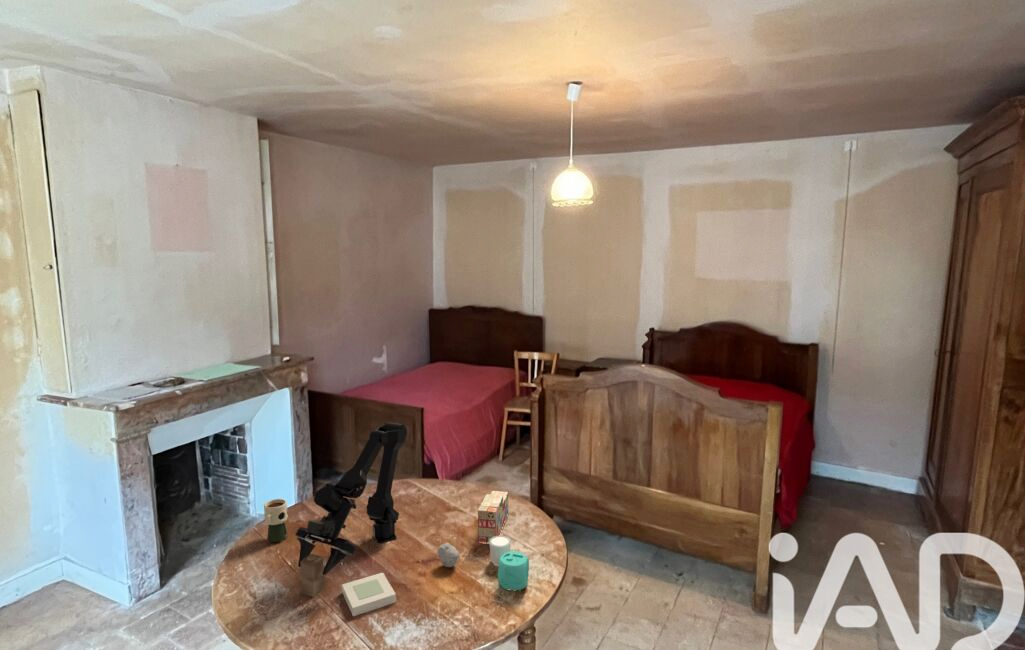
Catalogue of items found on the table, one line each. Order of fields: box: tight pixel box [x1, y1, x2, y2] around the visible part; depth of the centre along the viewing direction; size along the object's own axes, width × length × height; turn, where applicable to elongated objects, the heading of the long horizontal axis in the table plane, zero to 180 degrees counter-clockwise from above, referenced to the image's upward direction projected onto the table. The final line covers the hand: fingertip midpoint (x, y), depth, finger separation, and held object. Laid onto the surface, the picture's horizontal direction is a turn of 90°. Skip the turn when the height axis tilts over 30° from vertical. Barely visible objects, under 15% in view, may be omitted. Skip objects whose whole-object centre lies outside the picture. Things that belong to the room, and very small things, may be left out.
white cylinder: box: [488, 535, 512, 565], centre depth 175 cm, size 7×7×7 cm
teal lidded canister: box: [497, 550, 530, 591], centre depth 164 cm, size 8×8×8 cm
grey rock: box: [437, 542, 460, 568], centre depth 173 cm, size 6×7×7 cm
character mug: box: [263, 498, 289, 543], centre depth 188 cm, size 11×7×13 cm, turn 175°
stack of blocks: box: [477, 490, 509, 543], centre depth 195 cm, size 21×6×12 cm, turn 169°
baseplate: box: [341, 572, 397, 617], centre depth 158 cm, size 12×12×3 cm
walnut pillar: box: [300, 553, 326, 598], centre depth 160 cm, size 4×4×10 cm
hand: (311, 570), depth 160 cm, fingers open, 9 cm apart
